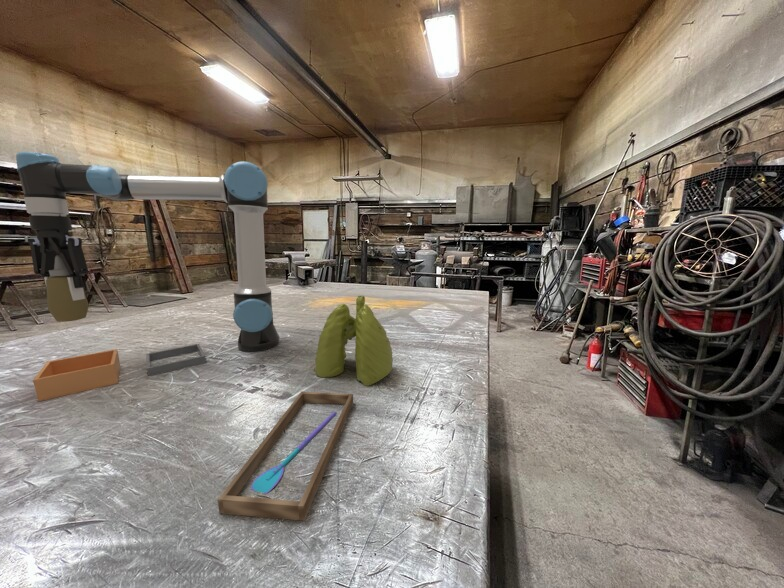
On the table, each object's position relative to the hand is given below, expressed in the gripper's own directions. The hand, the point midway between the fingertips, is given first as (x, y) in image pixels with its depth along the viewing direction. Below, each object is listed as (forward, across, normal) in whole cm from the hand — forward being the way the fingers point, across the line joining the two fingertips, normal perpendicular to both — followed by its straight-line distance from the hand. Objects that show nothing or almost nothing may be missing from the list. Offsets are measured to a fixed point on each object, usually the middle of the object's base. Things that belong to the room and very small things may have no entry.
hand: (67, 299), depth 85 cm
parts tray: (+25, -16, -16) cm, 34 cm away
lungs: (+25, -79, -14) cm, 84 cm away
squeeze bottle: (+6, 0, 0) cm, 6 cm away
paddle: (+26, -76, +21) cm, 83 cm away
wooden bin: (+25, 0, 0) cm, 25 cm away
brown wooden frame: (+25, -76, +21) cm, 83 cm away
